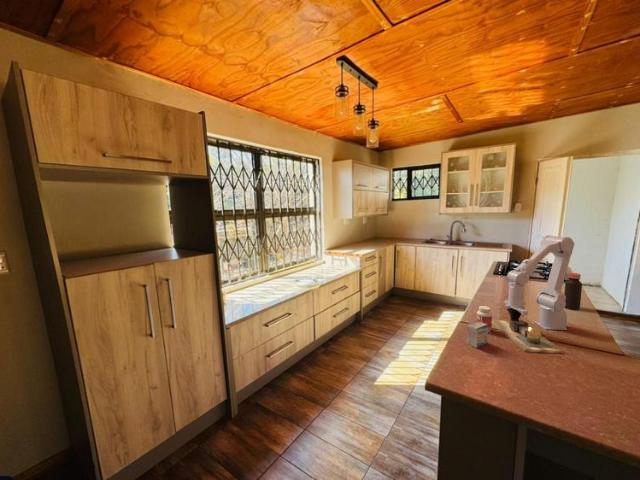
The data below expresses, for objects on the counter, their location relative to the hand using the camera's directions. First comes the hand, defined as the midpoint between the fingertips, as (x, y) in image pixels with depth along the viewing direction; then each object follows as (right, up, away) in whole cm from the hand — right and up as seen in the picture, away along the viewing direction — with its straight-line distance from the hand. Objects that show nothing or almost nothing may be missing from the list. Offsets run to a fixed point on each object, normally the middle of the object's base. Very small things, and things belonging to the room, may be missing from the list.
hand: (514, 323), depth 124 cm
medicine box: (-25, -5, -11) cm, 28 cm away
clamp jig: (-1, -4, -6) cm, 7 cm away
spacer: (-2, -3, -13) cm, 14 cm away
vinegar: (+50, +1, +23) cm, 55 cm away
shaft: (-1, -2, -5) cm, 6 cm away
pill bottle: (-14, -3, +1) cm, 14 cm away
